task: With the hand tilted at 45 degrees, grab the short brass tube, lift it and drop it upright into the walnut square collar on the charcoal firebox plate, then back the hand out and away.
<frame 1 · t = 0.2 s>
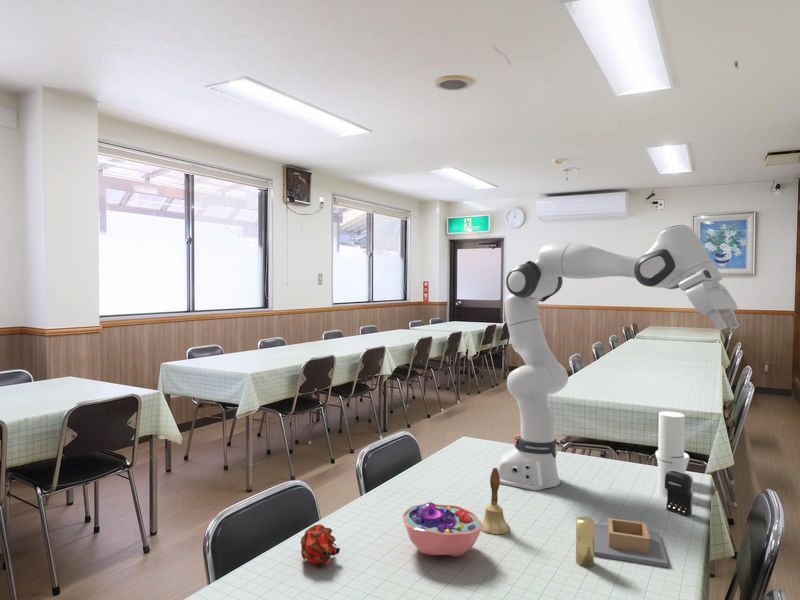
hand: (729, 328, 132), 54 cm above the table, tool tilted 30°, fingers open, 8 cm apart
battery charger: (677, 512, 151), on the table
cylindrical container: (670, 494, 164), on the table
cell model: (441, 552, 129), on the table
brass tube: (584, 562, 124), on the table
hand bell: (494, 528, 142), on the table
dragon fruit: (318, 561, 124), on the table
cup: (671, 482, 175), on the table
firebox plate: (627, 545, 132), on the table
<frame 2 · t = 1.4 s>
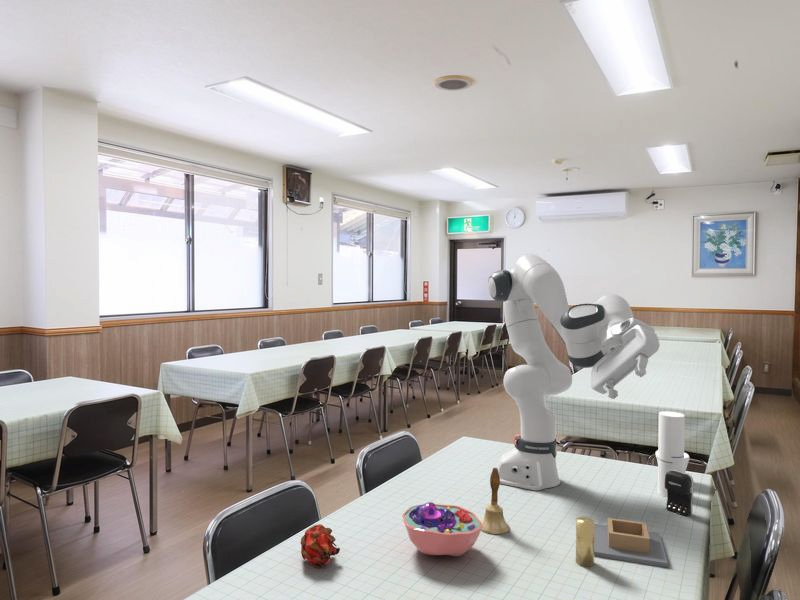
hand: (626, 385, 121), 42 cm above the table, tool tilted 50°, fingers open, 8 cm apart
nothing on the table moved.
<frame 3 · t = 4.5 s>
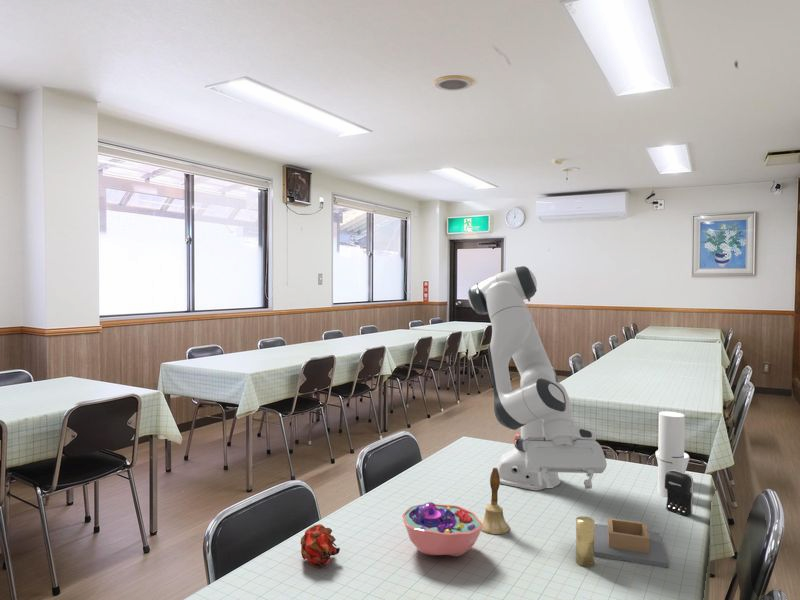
hand: (569, 487, 133), 14 cm above the table, tool tilted 45°, fingers open, 8 cm apart
nothing on the table moved.
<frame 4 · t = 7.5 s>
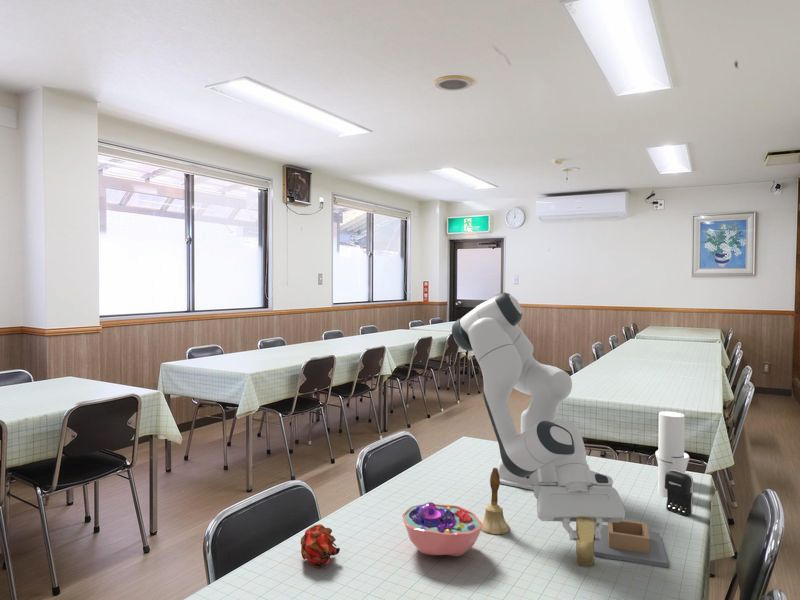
hand: (585, 539, 123), 6 cm above the table, tool tilted 45°, fingers closed on brass tube, 4 cm apart
brass tube: (584, 562, 124), on the table, touching gripper
everything else where it was.
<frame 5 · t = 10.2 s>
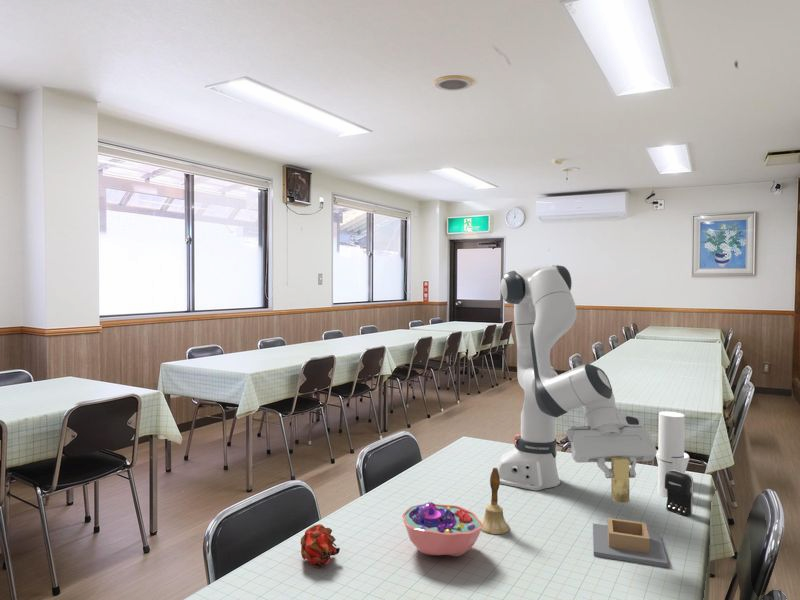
hand: (621, 477, 128), 19 cm above the table, tool tilted 45°, fingers closed on brass tube, 4 cm apart
brass tube: (620, 499, 128), point 13 cm above the table, touching gripper
everything else where it was.
when the fingers open (8 cm above the table, at t = 13.1 s): brass tube drops 1 cm, resting on firebox plate.
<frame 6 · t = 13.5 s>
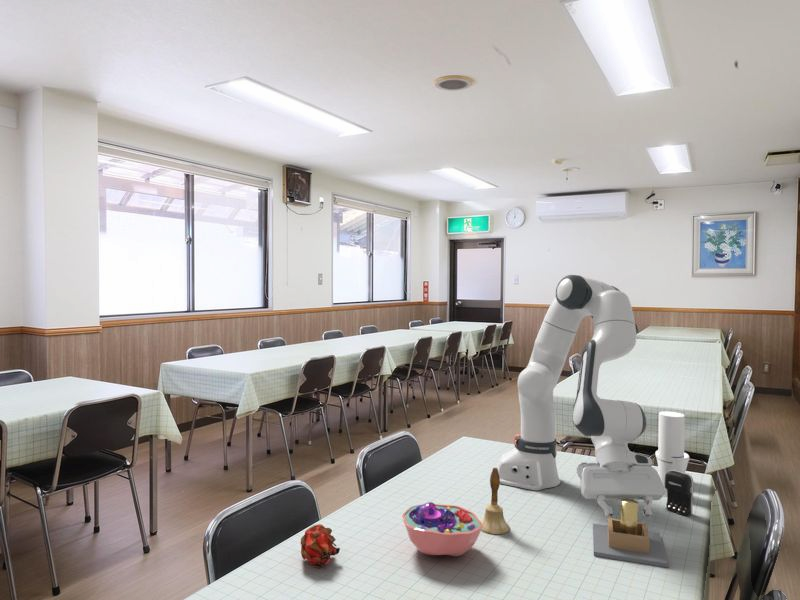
hand: (628, 515, 131), 8 cm above the table, tool tilted 45°, fingers open, 8 cm apart
brass tube: (627, 541, 132), point 1 cm above the table, touching firebox plate
everything else where it was.
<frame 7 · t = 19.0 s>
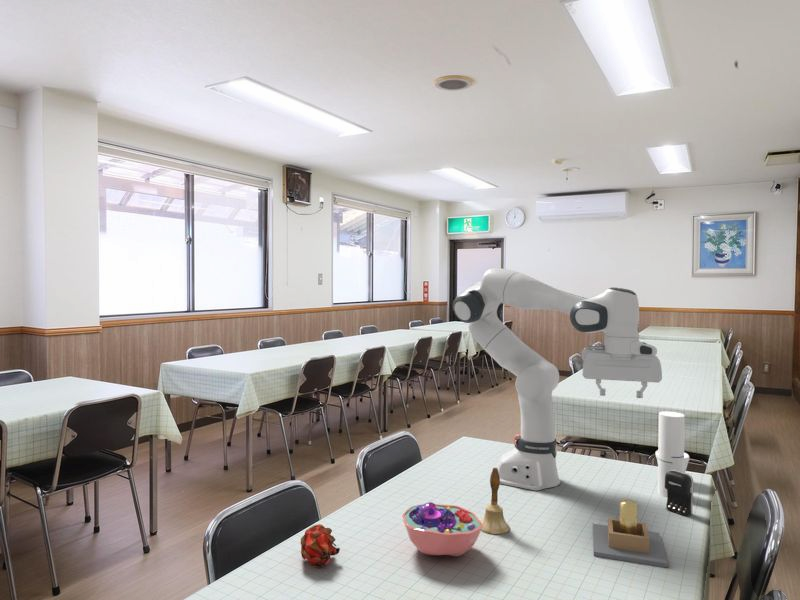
hand: (620, 396, 146), 34 cm above the table, tool pointing down, fingers open, 8 cm apart
nothing on the table moved.
at the end: brass tube 0.1 cm off-centre on the firebox plate, point 1.0 cm above the firebox plate's base; brass tube tilted 0°; the gripper is holding nothing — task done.
